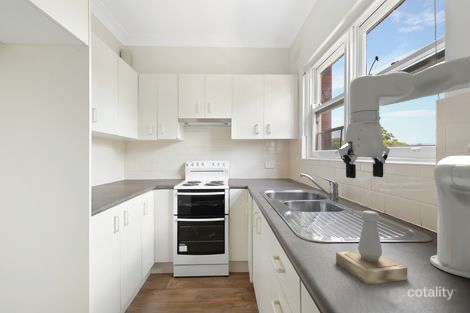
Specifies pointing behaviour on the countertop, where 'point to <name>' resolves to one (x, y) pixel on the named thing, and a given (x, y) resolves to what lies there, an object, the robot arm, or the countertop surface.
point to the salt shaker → (370, 237)
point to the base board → (371, 268)
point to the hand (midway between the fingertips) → (364, 177)
